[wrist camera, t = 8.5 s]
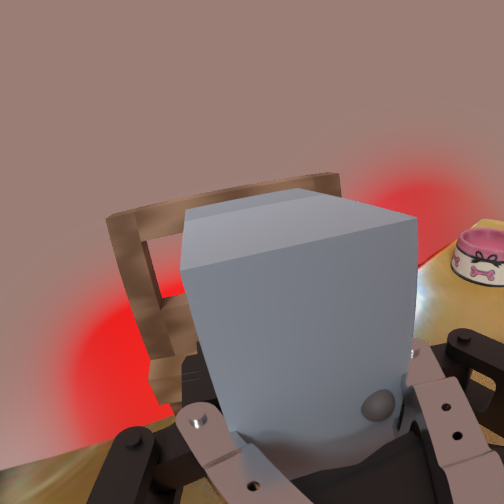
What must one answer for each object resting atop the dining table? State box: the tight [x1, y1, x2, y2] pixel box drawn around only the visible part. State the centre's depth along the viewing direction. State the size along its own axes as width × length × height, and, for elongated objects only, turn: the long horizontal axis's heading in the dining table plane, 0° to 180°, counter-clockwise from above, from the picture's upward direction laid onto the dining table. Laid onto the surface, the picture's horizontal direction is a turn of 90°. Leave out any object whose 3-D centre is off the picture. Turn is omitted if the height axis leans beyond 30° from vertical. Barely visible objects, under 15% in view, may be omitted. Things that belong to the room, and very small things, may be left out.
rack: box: [106, 172, 342, 416], centre depth 24 cm, size 17×6×24 cm, turn 102°
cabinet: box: [180, 188, 418, 480], centre depth 11 cm, size 5×9×12 cm, turn 12°
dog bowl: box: [451, 228, 504, 287], centre depth 49 cm, size 18×19×7 cm
